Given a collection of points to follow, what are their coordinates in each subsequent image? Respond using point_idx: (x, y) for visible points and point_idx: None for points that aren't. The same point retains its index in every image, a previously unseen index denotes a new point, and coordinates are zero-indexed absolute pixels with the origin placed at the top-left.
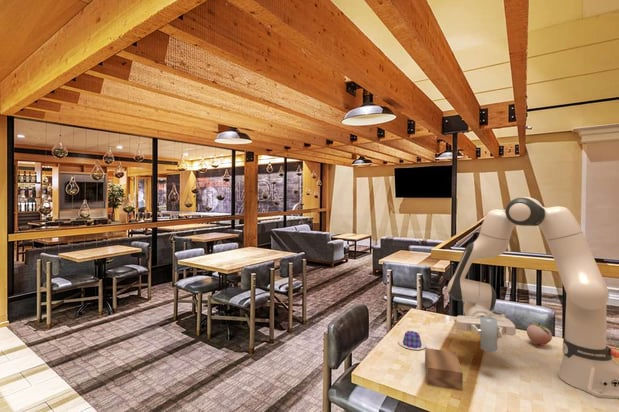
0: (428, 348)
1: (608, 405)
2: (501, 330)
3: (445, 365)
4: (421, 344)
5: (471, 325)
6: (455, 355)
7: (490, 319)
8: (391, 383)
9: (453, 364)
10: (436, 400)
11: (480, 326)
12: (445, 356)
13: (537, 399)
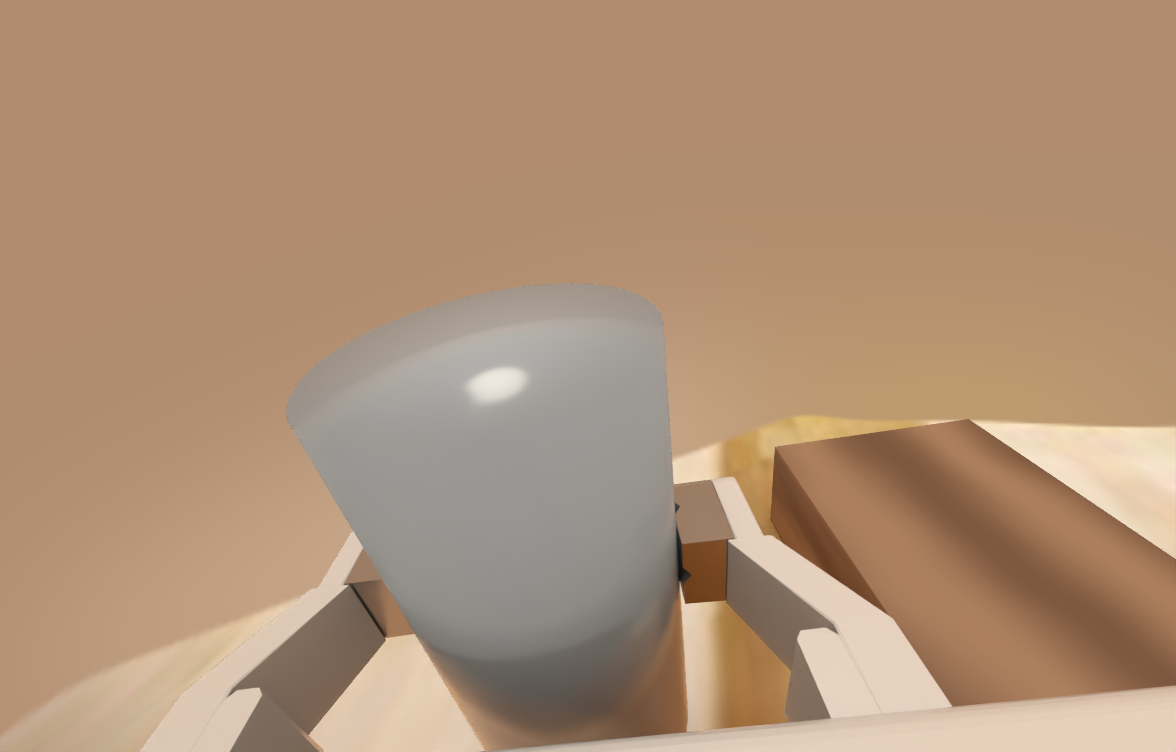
0: None
1: (88, 681)
2: (284, 623)
3: (900, 471)
4: None
5: (910, 654)
6: (943, 671)
7: (454, 340)
8: (1089, 438)
9: (862, 501)
10: (838, 425)
11: (672, 476)
12: (1006, 602)
13: None
